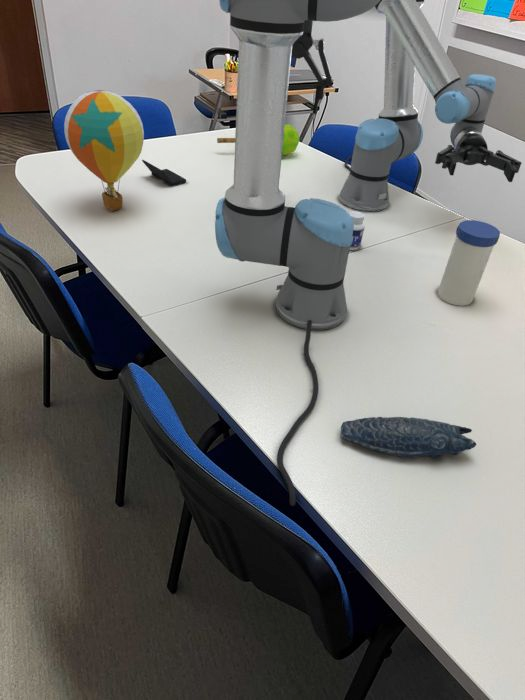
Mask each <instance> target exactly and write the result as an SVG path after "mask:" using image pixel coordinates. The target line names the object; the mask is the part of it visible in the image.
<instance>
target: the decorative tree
mask: <svg viewBox="0 0 525 700" xmlns="http://www.w3.org/2000/svg"><path fill="white" fill-rule="evenodd" d="M216 142H217V144H235V137H217V138H216ZM299 143H300V134H299V131H298V130H296V129H295V127H294V126H293V125H291V124H285V127H284V138H283V148H282V156H289V155H290V154H292V153H295V151H296V150H297V148H298V145H299Z"/></svg>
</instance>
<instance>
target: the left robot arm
mask: <svg viewBox="0 0 525 700" xmlns="http://www.w3.org/2000/svg"><path fill="white" fill-rule="evenodd" d="M218 1H219V6H220V7H219V8H220V10H222V11H223V12H224V13H226V14H230V15H229V17H230V20H229V27H230V29H231V30H232V31H233V33H234V35H235V36H236V37H237V39H238V57H237V58H238V59H237V60H238V62H237V85H236V86H237V87H236V110H235V111H236V112H235V136H234V138H235V143H234V159H233V160H234V161H233V162H234V163H233V166H234V167H233V184H232V185H231V186H229V188H227V189H226V190H225V191H224V197H222V198H220V199H218V201H217V204H216V208H215V220H214V233H215V240H216V241H215V242H216V245H217V248H218V251H219V252H220V254H221V255H222V256H223V257H225V258H227V259H232V260H237V261H239V262H249V263H258V264H265V265H270V266H271V265H272V266H279V267H287V268H288V270H287V271H288V272H287V275H286V278H285V279H284V282H283V283H282V284H278V285H276V291H278V294H277V296H276V300H275V311H276V313H277V315H278V316H279V317H280V318H281V319H282V320H283V321H284V322H286V323H287V324H289V325H291V326H293V327H296V328H300V329H304V330H306V333H305V339H304V346H303V354H304V359H305V362H306V364H307V366H308V368H309V370H310V372H311V376H312V383H313V385H312V387H313V389H312V395H311V398H310V401H309V404H308V406H307V407H306V409H305V410H304V411H303V412H302V413H301V414H300V415H299V416H298V418H297V419H296V420H295V422H293V424H292V426H291V428H290V429H289V430H288V432H287V433H286V435H284V438H283V439H282V441H281V443H280V445H279V447H278V450H277V453H276V463H277V467H278V470H279V473H280V474H281V476H282V478H283V479H284V482H285V484H286V486H287V489H288V494H289V495H288V497H289V505H290V506H291V507H294V506H296V491H295V486H294V483H293V481H292V478H291V477H290V474H289V473H288V471H287V469H286V467H285V465H284V453H285V449H286V447H287V445H288V443H289V442H290V440H291V439H292V437H293V436H294V434H295V433H296V431H297V430H298V428H299V426H300V425H301V424H302V422H303V421H305V419H306V418H307V417H308V416H309V414H311V412H312V410H313V409H314V407H315V405H316V403H317V400H318V396H319V395H318V394H319V380H318V379H319V378H318V374H317V369H316V367H315V365H314V363H313V361H312V360H311V357H310V353H309V349H310V341H311V335H312V331H324V330H325V331H326V330H329V329H333V328H336V327H337V326H339V325H340V324H342V323H343V322H344V320H345V318H346V315H347V310H348V305H347V297H346V292H345V286H344V280H345V275H346V271H347V267H348V266H347V264H348V260H349V254H350V251H351V250H350V245H351V244H352V242H353V238H352V235H353V228H354V222H353V219H352V217H351V215H350V214H349V213H350V212H349V211H347V210H346V209H345V208H343V206H342V207H341V206H340V205H338V204H336V203H334V202H331V201H329V200H326V199H320V198H312V197H311V198H309V199H308V198H304V199H301V200H299V201H298V202H297V203H296V205H295V206H294V207H293V206H286V195H285V193H284V192H283V191H282V190H281V189H280V188H279V187H280V178H281V177H280V176H281V167H282V157H283V155H282V148H283V138H284V127H285V125H286V118H287V117H286V115H287V105H288V94H289V84H290V74H291V63H292V58H295V59H297V60H301V59H304V61H305V62H306V64H307V65H308V67H309V68H310V70H311V72H312V74H313V76H314V77H315V79H316V81H317V82H318V83H316V87H315V94H314V102H313V109H312V114H314V115H316V114H317V112H318V104H319V100H323V98H324V92H325V86H327V85H331V84H332V83H333V75H332V72H331V69H330V65H329V61H328V58H327V55H326V50H325V39H324V38H319V39H313V30H314V22H324V23H325V22H327V23H328V22H339V21H343V20H344V21H345V20H349V19H351V18H355V17H358V16H360V15H363V14H365V13H367V12H369V11H370V10H371V9H374V8H375V6H376V5H377V4H378V3H379V1H380V0H218ZM313 46H314V48H315V50H316V51H318V56H319V58H320V62H321V66H322V69H323V73H324V76H325V77H324V76H323V74H322V73H321V71H320V69H319V67H318V65H317V64H316V62H315V60H314V59H313V57H312V54H311V52H310V51H309V50H311V48H312V47H313Z"/></svg>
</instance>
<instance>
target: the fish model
mask: <svg viewBox="0 0 525 700" xmlns="http://www.w3.org/2000/svg"><path fill="white" fill-rule="evenodd" d="M472 431H473V429H471V428H470V427H466V426H460V425H456V424H450V423H448V422H443V421H437V420H431V419H427V418H421V417H420V418H419V417H405V416H392V417H387V416H386V417H385V416H377V417H375V416H373V417H372V416H371V417H363V418H358V419H353V420H347V421H343V422H342V423H341V425H340V432H341V434H340V439H343V440H347V441H349V442H353V443H354V444H355V445H359V446H361V447H363V448H367V449H370V450H371V451H375V452H380V453H383V454H385V453H387V454H389V455H391V456H399V457H407V458H413V457H423V456H427V457H430V458H439V457H440V456H441V455H445V454H451V455H454V456H457V455H459V454H460V453H461V452H464V451H468V450H472V449H474V448H475V447H476V446H477V443H476V441H474V440H473V439H472V438H469V437H467V436H465V435H464V434H470V433H471V432H472Z"/></svg>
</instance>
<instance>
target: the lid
mask: <svg viewBox="0 0 525 700" xmlns="http://www.w3.org/2000/svg"><path fill="white" fill-rule="evenodd" d="M455 235H456V236H457V237H458V238H459V239H460V240H462V241H464V242H466V243H468V244H471V245H475V246H480V247H490V246H494V247H495V245H497V244H498V241H499V239H500V235H501V231H500V230H499V228H497V227H496V226H494V225H492V224H491V223H487V222H484V221H481V220H473V219H466V220H462V221H460V222H458V225H457V227H456V231H455Z"/></svg>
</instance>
